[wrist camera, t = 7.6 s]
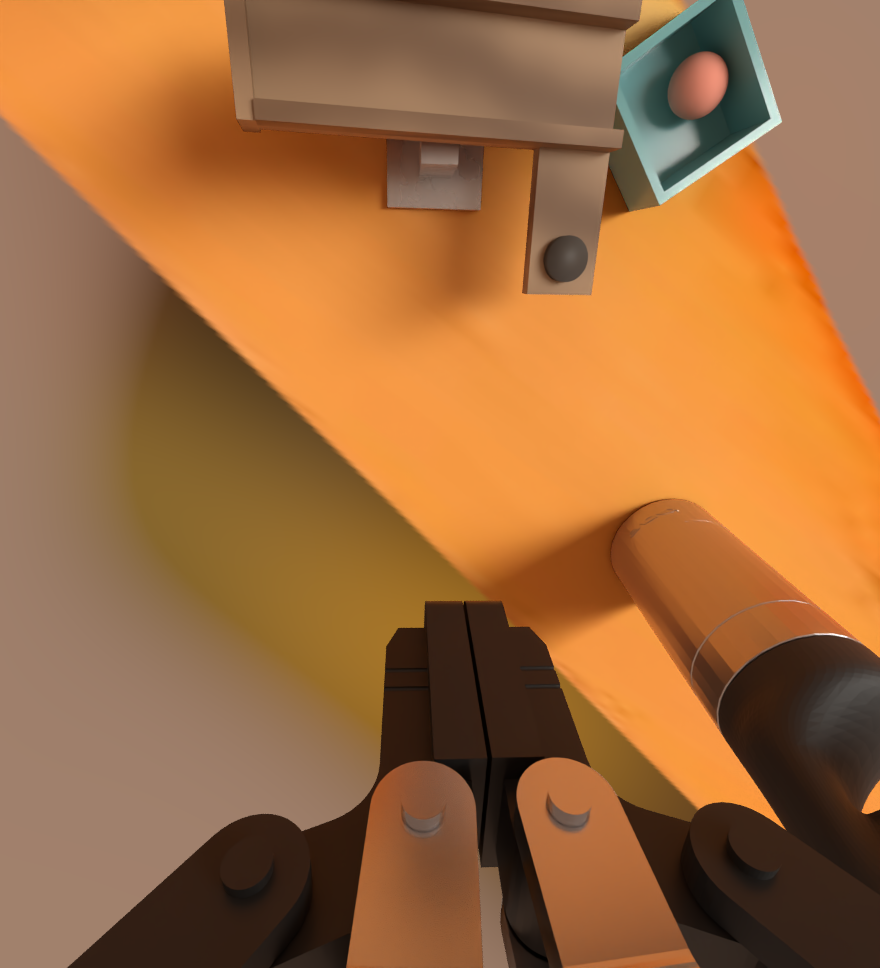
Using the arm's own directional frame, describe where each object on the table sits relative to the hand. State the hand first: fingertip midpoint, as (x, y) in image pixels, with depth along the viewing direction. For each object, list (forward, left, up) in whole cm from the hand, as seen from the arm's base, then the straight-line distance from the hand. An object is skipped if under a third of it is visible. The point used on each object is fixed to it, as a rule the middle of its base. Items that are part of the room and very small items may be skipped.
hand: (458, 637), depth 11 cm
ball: (+5, -23, -28) cm, 36 cm away
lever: (+10, -7, -24) cm, 27 cm away
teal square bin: (+4, -21, -30) cm, 37 cm away
